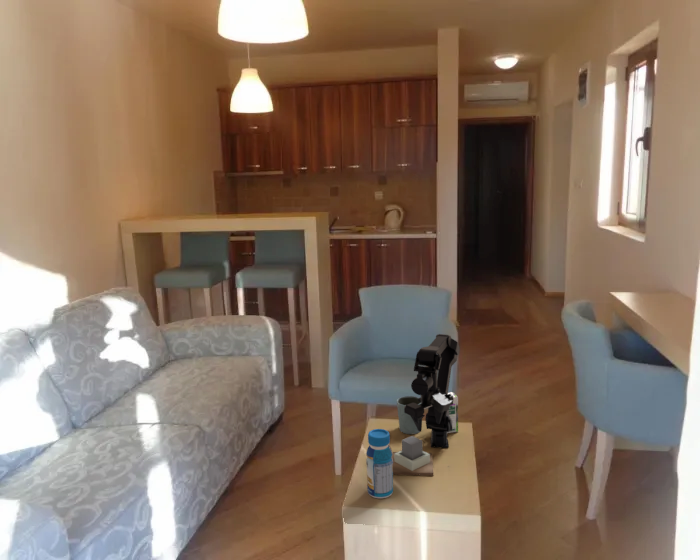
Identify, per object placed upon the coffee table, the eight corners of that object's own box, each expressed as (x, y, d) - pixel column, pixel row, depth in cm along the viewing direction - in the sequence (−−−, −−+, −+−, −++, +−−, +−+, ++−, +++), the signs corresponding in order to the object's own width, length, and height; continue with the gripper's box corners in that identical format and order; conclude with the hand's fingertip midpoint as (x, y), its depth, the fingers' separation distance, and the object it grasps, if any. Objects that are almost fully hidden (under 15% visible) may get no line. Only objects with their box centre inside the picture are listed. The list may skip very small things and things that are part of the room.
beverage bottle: (385, 502, 172) (384, 441, 169) (362, 495, 177) (360, 435, 173) (398, 489, 179) (397, 430, 176) (375, 482, 184) (373, 425, 180)
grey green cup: (414, 437, 215) (413, 407, 213) (392, 430, 221) (391, 402, 219) (427, 427, 223) (427, 398, 221) (405, 421, 229) (405, 393, 227)
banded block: (402, 461, 195) (401, 440, 193) (412, 456, 198) (412, 435, 196) (412, 467, 191) (411, 445, 189) (422, 462, 194) (422, 440, 192)
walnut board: (392, 454, 202) (392, 451, 202) (432, 455, 200) (432, 452, 200) (391, 474, 188) (391, 471, 188) (433, 475, 187) (433, 472, 187)
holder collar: (394, 461, 195) (394, 453, 194) (412, 453, 200) (412, 445, 200) (412, 470, 188) (412, 462, 188) (430, 462, 193) (429, 454, 193)
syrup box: (444, 434, 217) (444, 398, 214) (438, 427, 222) (438, 393, 220) (458, 432, 218) (458, 396, 216) (451, 425, 224) (451, 391, 221)
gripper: (426, 398, 181) (427, 443, 184) (464, 384, 192) (464, 426, 195) (402, 389, 189) (403, 432, 192) (440, 376, 201) (440, 417, 204)
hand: (429, 427), depth 195 cm, fingers open, 9 cm apart
